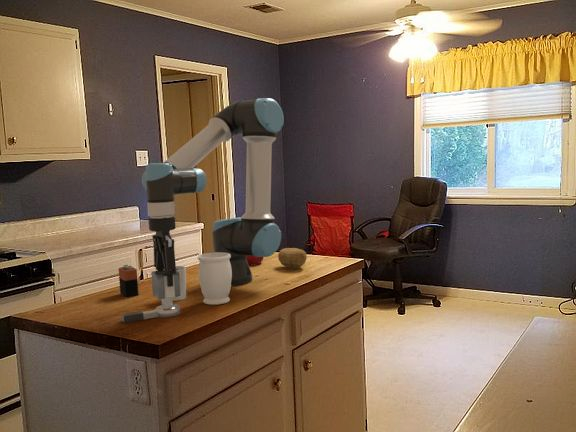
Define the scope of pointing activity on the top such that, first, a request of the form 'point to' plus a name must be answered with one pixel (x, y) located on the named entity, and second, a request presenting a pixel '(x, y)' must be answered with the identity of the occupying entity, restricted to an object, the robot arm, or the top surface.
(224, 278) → the jar
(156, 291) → the grey rounded cube
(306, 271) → the top surface
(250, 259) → the pomegranate
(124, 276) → the battery
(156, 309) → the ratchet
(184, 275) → the white pillar candle
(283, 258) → the potato
